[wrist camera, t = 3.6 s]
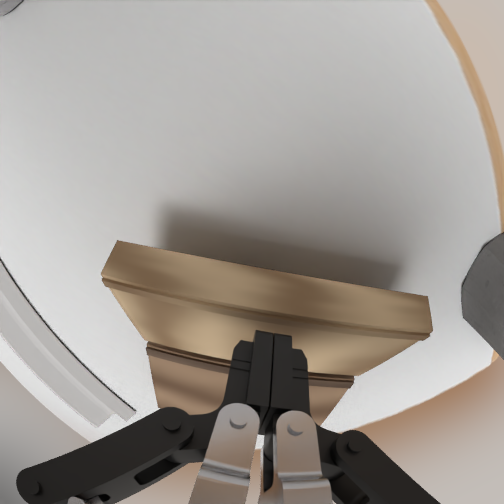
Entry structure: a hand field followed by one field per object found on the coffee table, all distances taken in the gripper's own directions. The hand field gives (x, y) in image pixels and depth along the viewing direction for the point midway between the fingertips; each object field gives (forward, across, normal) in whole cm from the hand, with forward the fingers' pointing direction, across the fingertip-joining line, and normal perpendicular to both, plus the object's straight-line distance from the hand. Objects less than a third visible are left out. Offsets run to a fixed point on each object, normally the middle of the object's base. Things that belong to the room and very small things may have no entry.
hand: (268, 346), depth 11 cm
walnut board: (+7, 0, +12) cm, 14 cm away
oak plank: (+4, 0, +2) cm, 5 cm away
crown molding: (+8, +27, +16) cm, 32 cm away
